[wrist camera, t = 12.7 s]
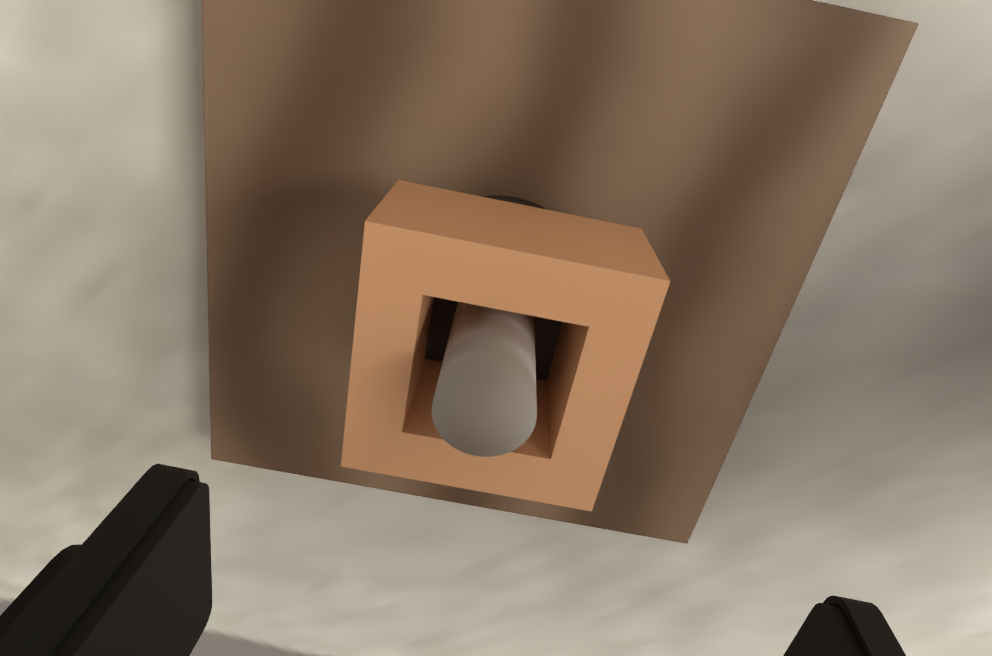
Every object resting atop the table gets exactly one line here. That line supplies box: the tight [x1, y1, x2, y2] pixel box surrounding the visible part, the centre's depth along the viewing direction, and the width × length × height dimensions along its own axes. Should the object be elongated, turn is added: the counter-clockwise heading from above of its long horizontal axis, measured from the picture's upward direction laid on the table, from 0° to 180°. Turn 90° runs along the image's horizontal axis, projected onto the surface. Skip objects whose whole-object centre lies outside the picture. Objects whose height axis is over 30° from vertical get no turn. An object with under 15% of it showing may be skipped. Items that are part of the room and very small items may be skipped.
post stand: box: [202, 0, 918, 543], centre depth 18 cm, size 20×20×10 cm
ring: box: [341, 180, 670, 511], centre depth 17 cm, size 7×7×4 cm
